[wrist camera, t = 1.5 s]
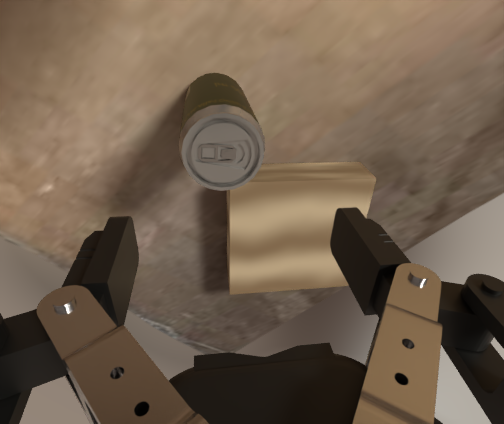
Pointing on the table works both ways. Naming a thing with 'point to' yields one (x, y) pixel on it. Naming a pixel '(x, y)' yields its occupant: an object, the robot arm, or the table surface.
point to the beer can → (220, 134)
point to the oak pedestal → (291, 225)
